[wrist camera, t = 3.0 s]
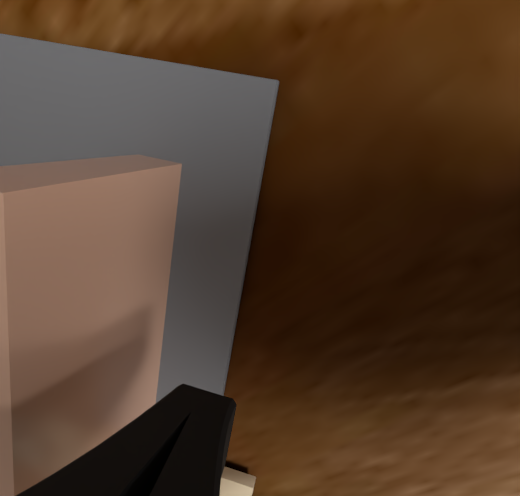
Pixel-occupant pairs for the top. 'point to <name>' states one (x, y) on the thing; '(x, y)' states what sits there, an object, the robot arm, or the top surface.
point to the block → (79, 305)
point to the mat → (162, 147)
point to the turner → (236, 483)
